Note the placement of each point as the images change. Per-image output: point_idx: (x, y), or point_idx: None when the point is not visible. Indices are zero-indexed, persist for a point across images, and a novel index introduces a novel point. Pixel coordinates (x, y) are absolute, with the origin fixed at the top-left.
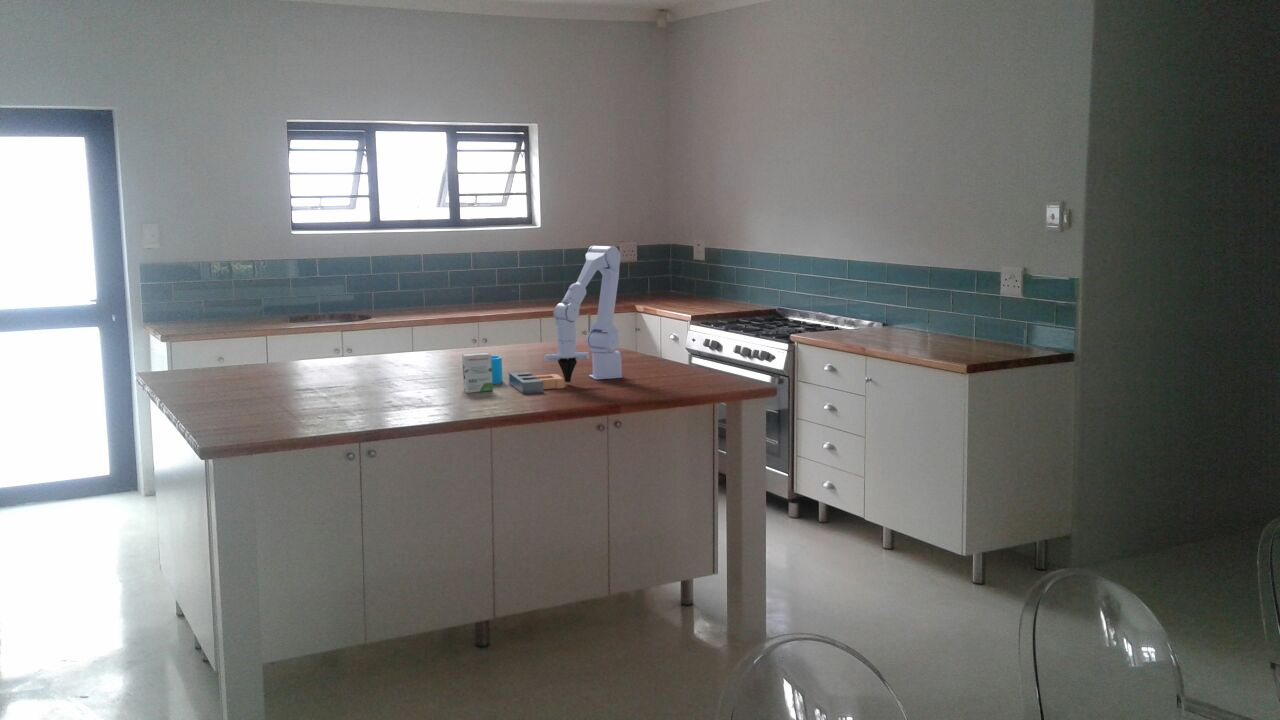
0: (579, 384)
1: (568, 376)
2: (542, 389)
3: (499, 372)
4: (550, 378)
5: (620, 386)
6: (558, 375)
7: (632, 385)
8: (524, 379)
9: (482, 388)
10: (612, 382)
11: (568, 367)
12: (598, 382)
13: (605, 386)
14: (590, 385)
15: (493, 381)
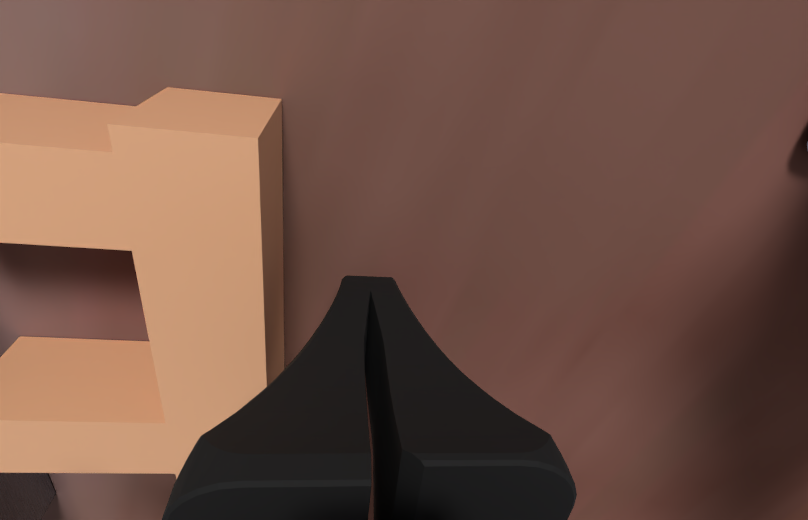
0: (489, 307)
1: (368, 382)
2: (35, 517)
3: None
4: (103, 434)
5: (697, 484)
6: (254, 289)
7: (786, 481)
8: None
9: None
10: (797, 337)
11: (377, 484)
12: (708, 287)
13: (616, 454)
14: (547, 385)
15: None
